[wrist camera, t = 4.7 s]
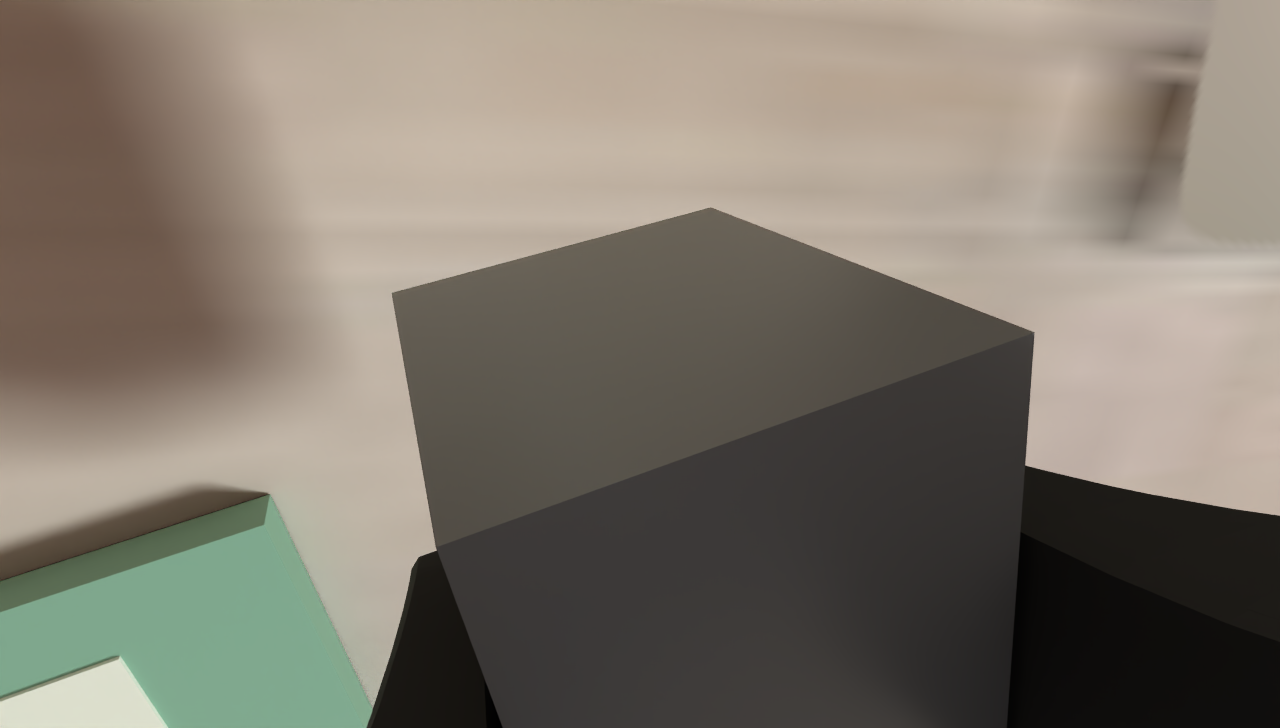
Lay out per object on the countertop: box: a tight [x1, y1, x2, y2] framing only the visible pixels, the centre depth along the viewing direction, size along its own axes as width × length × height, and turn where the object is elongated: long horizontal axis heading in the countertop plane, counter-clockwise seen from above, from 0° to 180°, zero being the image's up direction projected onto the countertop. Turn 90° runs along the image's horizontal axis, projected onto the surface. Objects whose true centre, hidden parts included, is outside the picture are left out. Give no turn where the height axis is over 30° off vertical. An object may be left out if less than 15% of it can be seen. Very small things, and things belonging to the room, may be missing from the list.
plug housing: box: [392, 208, 1034, 728], centre depth 8 cm, size 7×4×5 cm, turn 10°
